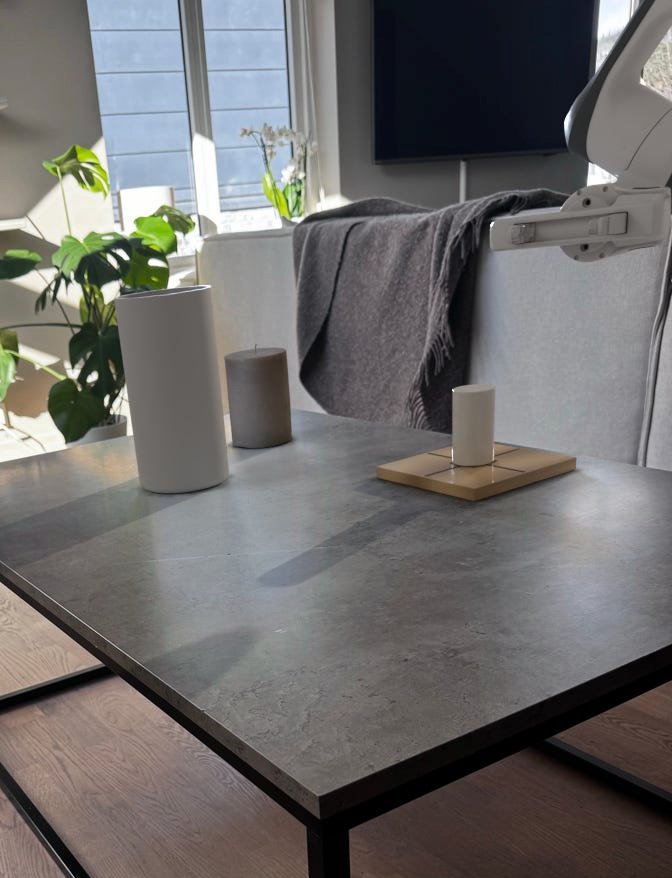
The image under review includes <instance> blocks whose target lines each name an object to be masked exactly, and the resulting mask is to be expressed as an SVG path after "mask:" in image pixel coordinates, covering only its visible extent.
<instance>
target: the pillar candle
mask: <svg viewBox="0 0 672 878" xmlns="http://www.w3.org/2000/svg"><path fill="white" fill-rule="evenodd" d="M257 346H258V343H255V344H254V348H251V349H243V350H238V351H234V352H231V353H228V354H225V355H224V356H223V359H224V368H225V369H224V370H225V377H226V390H227V401H228V402H227V403H228V411H229V422H230V433H231V442H232V446H233V447H238V448H239V447H240V448H247V449H263V448H271V447H275V446H280V445H283V444H286V443H287V442H290V441H292V440H293V431H292V429H293V428H292V411H291V393H290V380H289V377H290V376H289V365H288V356H287V349H286V348H284V347H259V348H257Z"/></svg>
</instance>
